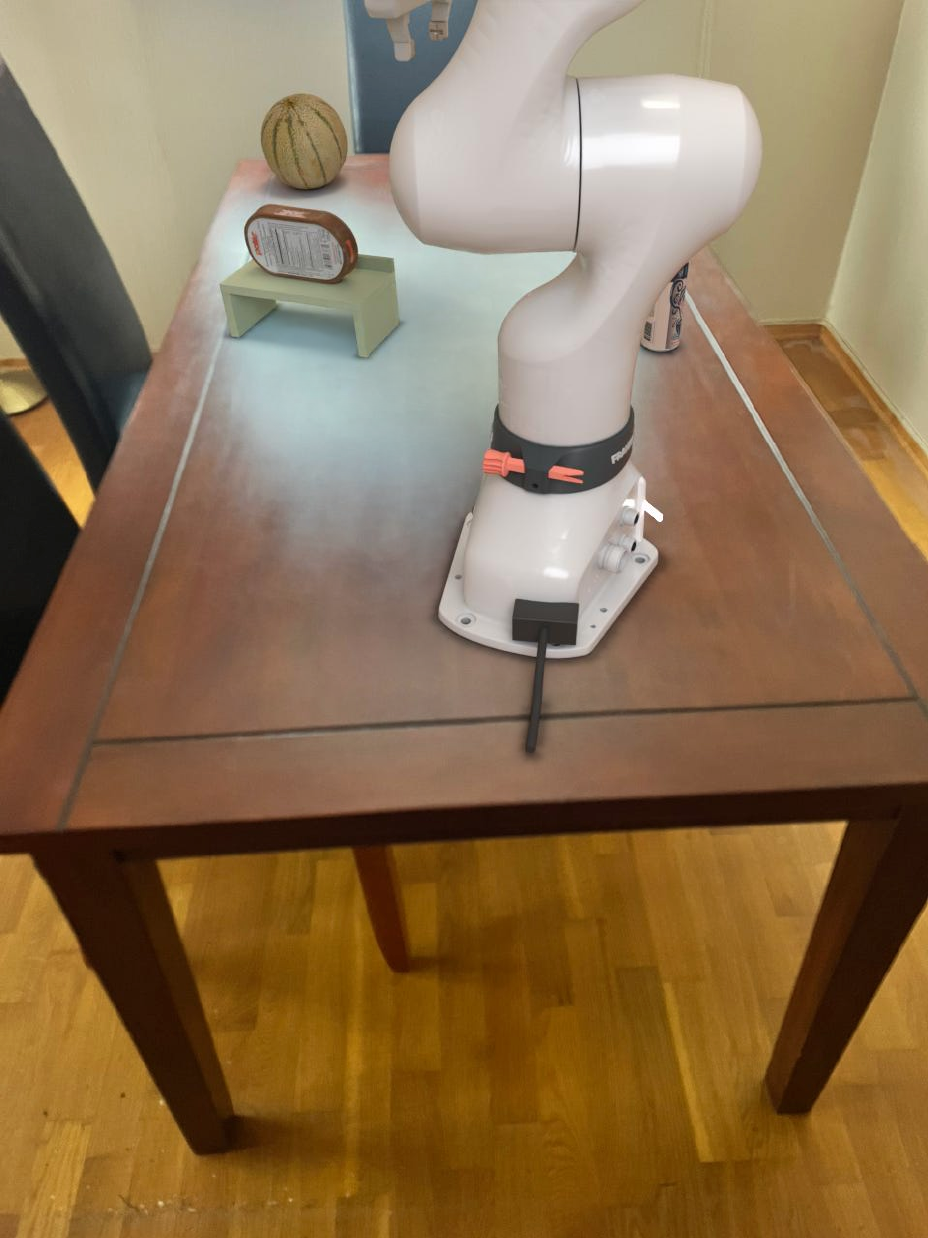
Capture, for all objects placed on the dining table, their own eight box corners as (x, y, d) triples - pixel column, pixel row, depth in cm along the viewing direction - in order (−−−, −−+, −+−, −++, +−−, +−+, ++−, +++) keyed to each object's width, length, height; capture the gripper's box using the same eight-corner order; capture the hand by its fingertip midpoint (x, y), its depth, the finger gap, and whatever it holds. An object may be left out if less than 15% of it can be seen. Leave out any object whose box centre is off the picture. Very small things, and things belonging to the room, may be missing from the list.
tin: (363, 280, 116) (354, 211, 111) (351, 290, 114) (342, 220, 109) (261, 265, 121) (248, 198, 115) (247, 275, 119) (234, 207, 113)
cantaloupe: (353, 170, 170) (343, 78, 160) (350, 198, 159) (339, 101, 149) (273, 175, 170) (257, 83, 160) (264, 203, 159) (247, 106, 149)
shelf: (366, 357, 117) (358, 289, 111) (231, 336, 122) (216, 270, 116) (399, 323, 123) (393, 257, 117) (269, 304, 129) (257, 241, 123)
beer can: (678, 355, 114) (690, 258, 106) (639, 353, 115) (648, 256, 106) (679, 337, 117) (691, 241, 109) (641, 335, 118) (650, 240, 110)
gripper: (398, -95, 86) (410, 74, 96) (477, -120, 100) (481, 30, 109) (338, -94, 88) (355, 71, 97) (424, -119, 102) (432, 28, 111)
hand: (422, 49), depth 104 cm, fingers open, 8 cm apart
